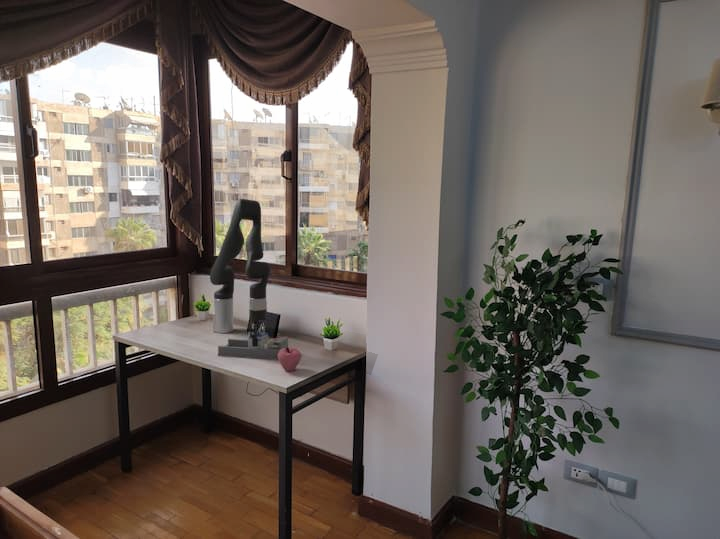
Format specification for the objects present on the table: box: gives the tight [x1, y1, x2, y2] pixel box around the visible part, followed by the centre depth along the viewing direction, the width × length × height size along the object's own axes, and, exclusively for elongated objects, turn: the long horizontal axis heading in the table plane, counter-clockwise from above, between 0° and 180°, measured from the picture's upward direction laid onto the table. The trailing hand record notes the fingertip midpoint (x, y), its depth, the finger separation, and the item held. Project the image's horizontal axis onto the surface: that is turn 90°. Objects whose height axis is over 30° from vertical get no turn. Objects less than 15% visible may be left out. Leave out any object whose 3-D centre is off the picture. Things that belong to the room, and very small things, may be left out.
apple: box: [278, 346, 302, 372], centre depth 214 cm, size 10×9×10 cm
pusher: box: [264, 338, 279, 349], centre depth 233 cm, size 5×9×4 cm, turn 172°
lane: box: [217, 336, 289, 361], centre depth 234 cm, size 28×13×7 cm, turn 82°
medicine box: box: [247, 331, 269, 349], centre depth 234 cm, size 8×4×9 cm, turn 65°
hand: (258, 343), depth 234 cm, fingers open, 8 cm apart
